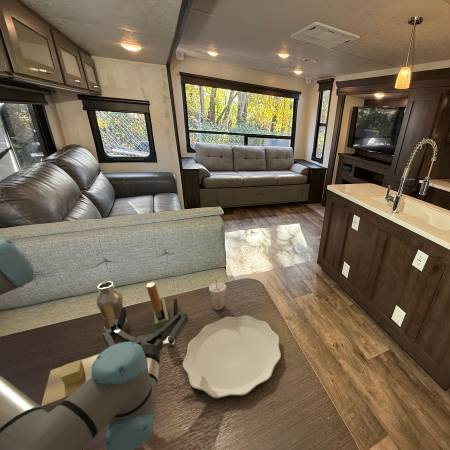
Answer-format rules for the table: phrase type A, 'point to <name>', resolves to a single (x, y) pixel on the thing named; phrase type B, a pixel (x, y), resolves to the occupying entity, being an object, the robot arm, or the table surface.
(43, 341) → the table surface
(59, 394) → the cutting board
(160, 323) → the green rectangular holder
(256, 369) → the plate
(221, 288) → the smoothie
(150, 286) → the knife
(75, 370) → the butter left
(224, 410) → the table surface
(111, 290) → the plastic bottle
